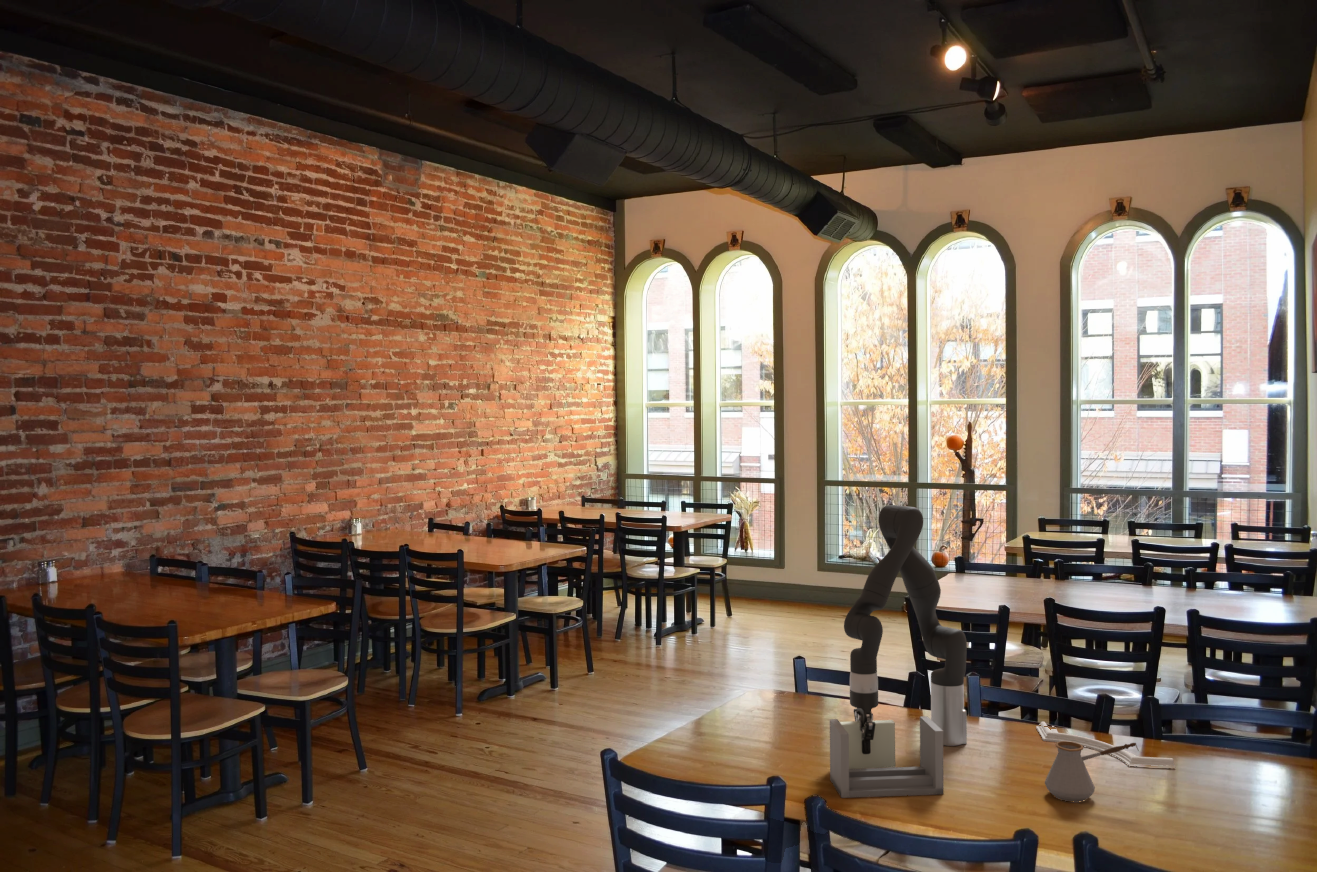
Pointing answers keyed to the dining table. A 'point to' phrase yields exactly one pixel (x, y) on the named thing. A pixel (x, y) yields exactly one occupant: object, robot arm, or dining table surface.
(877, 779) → the grey rack
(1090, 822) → the dining table surface
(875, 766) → the door panel
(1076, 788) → the coffee pot
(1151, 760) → the molding
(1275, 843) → the dining table surface
